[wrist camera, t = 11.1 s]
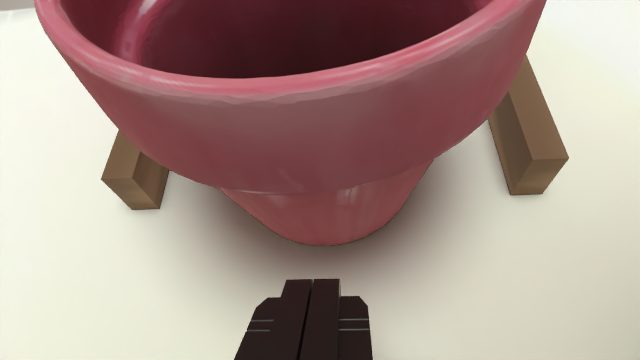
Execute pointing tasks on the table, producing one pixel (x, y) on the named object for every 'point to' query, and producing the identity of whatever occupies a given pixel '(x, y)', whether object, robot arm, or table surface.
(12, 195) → the table surface
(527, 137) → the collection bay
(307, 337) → the robot arm
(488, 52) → the plant pot
